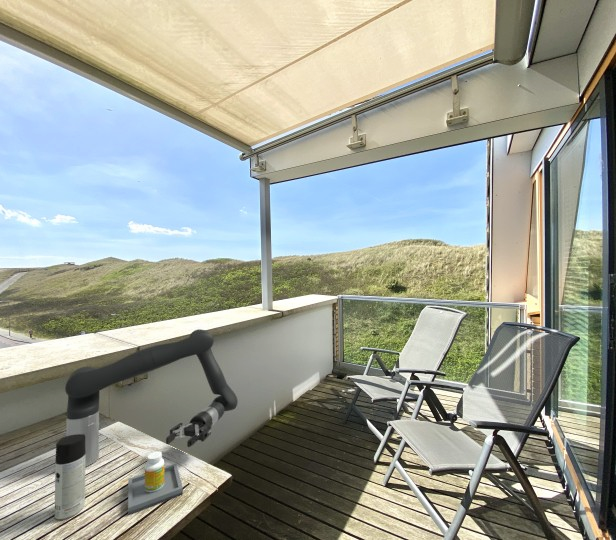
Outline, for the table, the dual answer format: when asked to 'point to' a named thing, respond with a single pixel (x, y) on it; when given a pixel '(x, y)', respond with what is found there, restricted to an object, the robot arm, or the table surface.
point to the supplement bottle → (154, 472)
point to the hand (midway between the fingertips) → (177, 442)
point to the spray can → (69, 476)
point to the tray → (143, 499)
